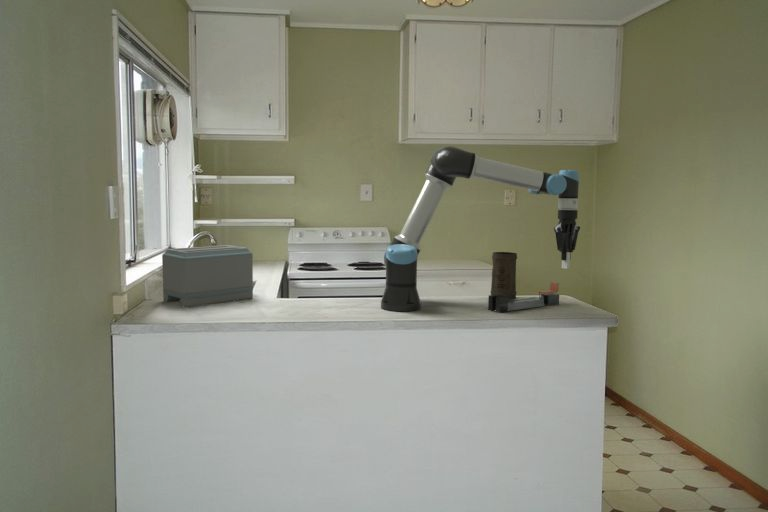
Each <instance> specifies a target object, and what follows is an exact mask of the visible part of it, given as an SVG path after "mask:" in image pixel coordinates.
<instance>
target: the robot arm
mask: <svg viewBox="0 0 768 512" xmlns="http://www.w3.org/2000/svg"><path fill="white" fill-rule="evenodd" d="M424 176H425V178H426V179H425V182H424V184H423V186H422V188H421V190H420V192H419V195H418V196H417V198H416V201H415V202H414V205H413V206H412V209H411V211H410V213H409V215H408V217H407V219H406V221H405V223H404V225H403V228H402V229H401V231H400V233H399V234H397V235H395V236H393V239H392V241H391V243H390V245H389V246H387V247H386V251H385V253H384V256H383V262H384V266H385V288H384V292H383V294H382V297H381V300H380V308H381V309H383V310H386V311H392V312H414V311H418V310H420V309H422V302H421V298H420V295H419V291H418V288H417V283H418V282H417V281H418V279H417V278H418V276H417V275H418V258H419V257H418V256H419V254H420V252H421V250H422V248H421V245H420V244H421V241H422V239H423V238H424V236H425V233H426V231H427V229H428V227H429V225H430V223H431V220H432V219H433V217H434V215H435V213H436V211H437V209H438V207H439V205H440V203H441V200H442V198H443V196H444V195H445V192H446V190H447V189H449V188H452V187H453V185H454V183H455V181H456V178H461V179H462V178H464V179H466V180H467V179H468V180H470V179H472V178H476V179H481V180H485V181H490V182H494V183H498V184H503V185H508V186H510V187H511V186H512V187H517V188H519V189H520V188H522V189H526V190H528V193H530V194H531V195H551V196H558V197H557V198H558V199H557V201H558V202H557V208H558V210H557V219H558V220H559V221H558V225H557V226H555V227H553V230H554V233H555V240H556V241H555V242H556V248H557V251H558V252H560V253H561V258H560V259H561V269H566V270H569V269H570V268H571V266H570V263H571V257H572V256H571V255H572V254H571V253H573V252H574V251H575V250H576V246H577V241H578V236H579V231H580V229H581V226H578V225H577V222H576V221H577V220H578V215H579V213H578V212H579V210H578V208H579V207H578V206H579V204H578V203H579V187H580V186H579V185H580V173H579V171H578V170H576V169H560V170H559V172H558V174H557V173H550V172H545V171H542V170H541V171H540V170H537V169H533V168H528V167H523V166H519V165H514V164H512V163H506V162H502V161H498V160H493V159H488V158H485V157H480V156H478V155H477V154H476V152H475V153H474V152H471V151H467V150H464V149H461V148H459V147H455V146H449V145H448V146H445V147H441V148H439V149H437V150H436V151H435V152H434V153H433V155H432V156H431V158H430V161H429V165H428V167H427V169H426V171H425V173H424Z"/></svg>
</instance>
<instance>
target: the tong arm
mask: <svg viewBox="0 0 768 512" xmlns="http://www.w3.org/2000/svg"><path fill="white" fill-rule="evenodd" d="M540 307H545V306H544V299H542V298H539V297H538V298H536V299H528V300H520V301H513V302H508V297H505V296H502V297H496V311H495V312H497V313H502V312H510V311H517V310H525V309H532V308H540Z"/></svg>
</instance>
